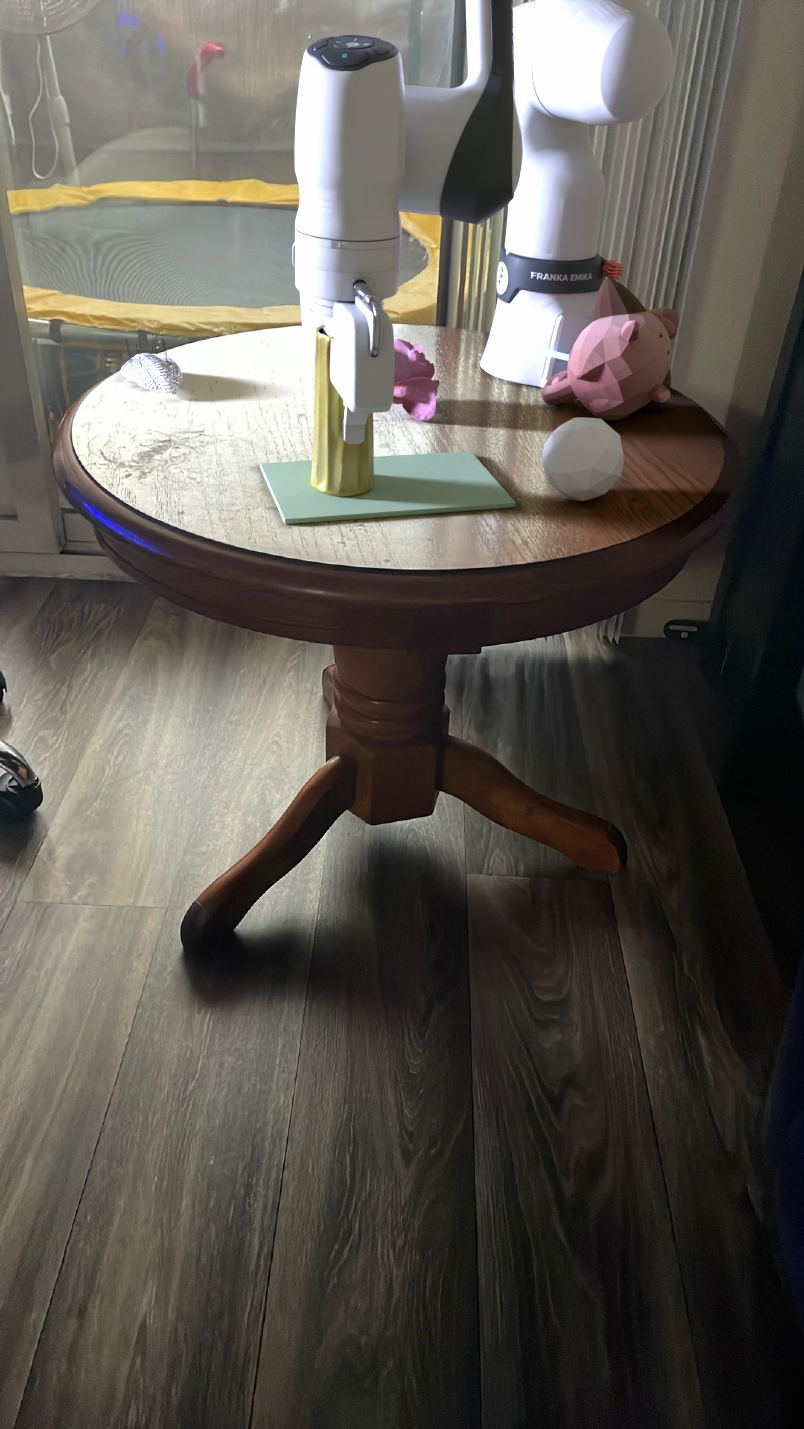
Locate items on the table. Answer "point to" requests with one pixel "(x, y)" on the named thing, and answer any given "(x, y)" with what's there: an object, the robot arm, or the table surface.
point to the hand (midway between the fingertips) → (343, 427)
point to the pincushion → (153, 371)
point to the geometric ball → (583, 458)
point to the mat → (390, 489)
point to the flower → (414, 381)
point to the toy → (618, 358)
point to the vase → (336, 436)
